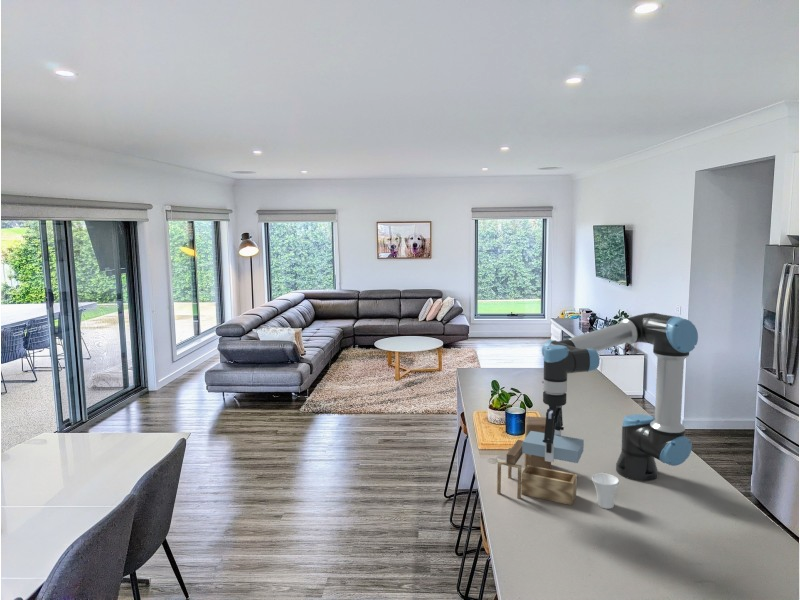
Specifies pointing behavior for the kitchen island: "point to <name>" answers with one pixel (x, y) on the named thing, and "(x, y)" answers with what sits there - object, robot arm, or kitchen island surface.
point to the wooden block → (537, 426)
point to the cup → (605, 489)
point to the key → (515, 453)
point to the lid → (563, 446)
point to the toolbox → (542, 482)
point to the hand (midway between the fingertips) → (552, 454)
